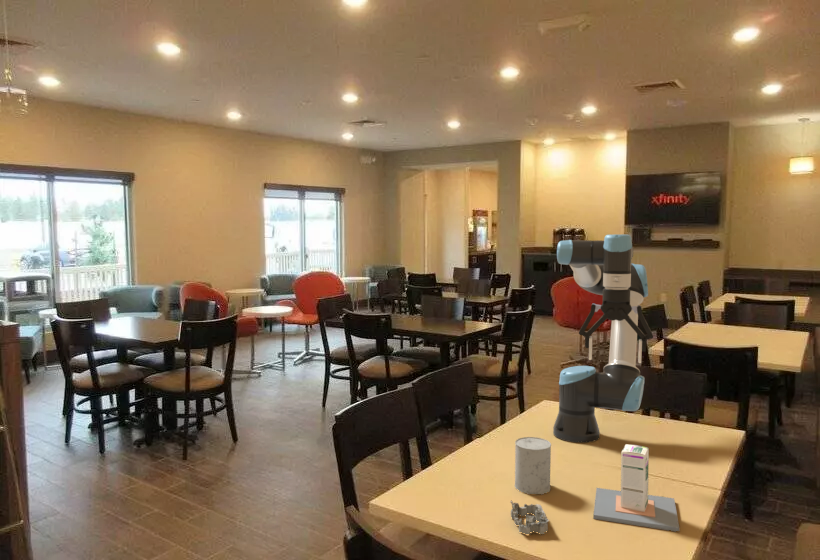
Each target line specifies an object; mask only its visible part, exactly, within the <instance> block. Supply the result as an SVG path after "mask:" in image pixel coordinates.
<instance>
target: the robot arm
mask: <svg viewBox="0 0 820 560" xmlns="http://www.w3.org/2000/svg"><path fill="white" fill-rule="evenodd" d="M632 239H633V238H632V235H630V234H626V233H625V234H620V233H619V234H616V233H614V234H606V235H605V236H604V239H603V240H589V239H588V240H580V239H579V240H578V239H576V240H575V239H573V240H572V239H567V240H566V239H565V240H560V241H559V242H558V243H557V247H556V259H557V263H558V264H560V265H566V266H568V265H569V267H570V268H571V270H572V271H573V279H574V282H575V283H576V284H577V285H578V286H579V287H580V288H581V289H583V290H584V291H587V292H588V293H592V294H595V295H599V296H602V303H601V304H596V303H592V304H591V306H590V312H589V313H588V315H587V317H586V318H585V320H584V322H583V324H582V326H581V327H580V330H579V331H578V334H579V336H583V337H584V338H585V339H584V347H585V349H588V360H589V361H592V360H593V336H592V334H593V333H594V332H596V331H597V329H599V327H600V326H601V325H602V324H603V323H604V322H605V321H606V320H609V321H611V325H610V338H609V340H610V341H609V354H608V363H607V364H605V365H604V366H603V369H602V371H603V372H597V369H596V367H594V366H589V365H575V366H570V367H569V366H568V367H565V368H563V369H562V370H561V371H560V374H559V382H558V385H559V387H558V388H559V389H558V391H559V392H558V393H559V394H558V395H559V396H558V413H557V416H556V419H555V420H554V421H555V422H554V424H553V431H552V432H553V435H554V437H556V438H558V439H560V440H563V441H566V442H571V443H592V442H596V441H598V440H599V439H600V428H599V425H598V421H597V418H596V415H595V410H596V409H595V408H598V409H608V410H614V411H615V410H616V411H617V410H618V411H622V412H626V411H627V412H636V411H638V410H639V409H640V406H641V403H642V399H643V394H644V387H645V376H643V375H641V371H640V369H639V368H638V367H637V366H636V365H637V363H636V362H638V364H642V357H643V356H642V352H646V351H647V341H648V340H652V339H653V338H654V334H653V333H652V330H651V328H650V326H649V324H648V322H647V320H646V319H645V316H644V314H643V309H642V308H643V307H642V306H641V304H642V303H644V301H645V300H644V299H645V298H647V297H648V296H649V286H648V276H647V269H646V267H645V265H643V264H637V263H636V264H635V263H632V260H633V257H634V248H633V243H632V242H633V240H632ZM599 310H601V312H602V313H603V314H602V316H600V318H599V319H598V320H597V321H596V322H595V323H594V324H593V325H592V326H591V327H590V328H589V329H588V330H587V331H586V329H587V327H588V326H589V324H590V323H591V321H592V318H593V317H594V314H595V313H598V311H599ZM638 320H640V323H641V325H642V326H643V329H644V331H645V332H646V334H645V333H644V332H643V331H642V330H641V328H640V327H638V326H639V325H638V323H639V321H638ZM638 336H639V339H638ZM637 343H638V344H637ZM637 345H638V346H637ZM637 347H638V356H637ZM637 358H638V359H637ZM637 360H638V361H637Z"/></svg>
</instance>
